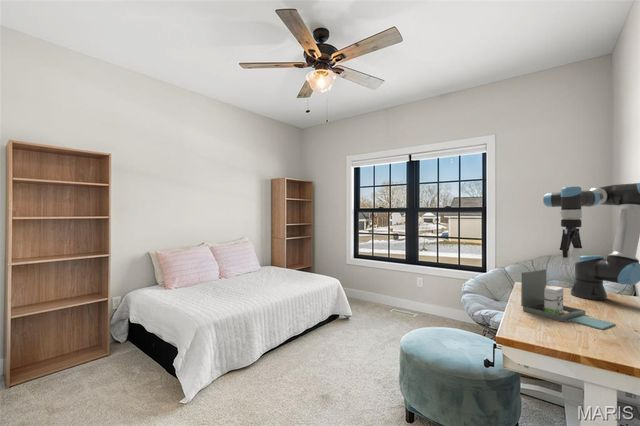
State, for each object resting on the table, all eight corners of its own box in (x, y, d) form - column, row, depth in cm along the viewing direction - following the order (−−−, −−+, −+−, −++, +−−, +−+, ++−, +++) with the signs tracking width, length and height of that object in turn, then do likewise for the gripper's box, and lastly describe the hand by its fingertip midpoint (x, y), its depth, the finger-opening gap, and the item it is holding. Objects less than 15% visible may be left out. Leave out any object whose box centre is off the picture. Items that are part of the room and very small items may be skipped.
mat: (582, 316, 133) (582, 315, 133) (615, 325, 124) (615, 323, 124) (569, 320, 128) (569, 319, 128) (602, 329, 118) (602, 328, 118)
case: (544, 304, 151) (544, 269, 151) (585, 314, 136) (586, 275, 136) (521, 310, 141) (521, 272, 141) (562, 321, 126) (563, 279, 126)
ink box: (556, 316, 134) (556, 290, 134) (543, 313, 138) (543, 287, 138) (563, 312, 138) (563, 287, 138) (550, 309, 143) (551, 285, 143)
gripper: (570, 218, 152) (570, 259, 153) (551, 219, 139) (551, 264, 139) (589, 218, 146) (589, 261, 146) (571, 219, 132) (571, 267, 132)
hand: (571, 263), depth 143 cm, fingers open, 13 cm apart
